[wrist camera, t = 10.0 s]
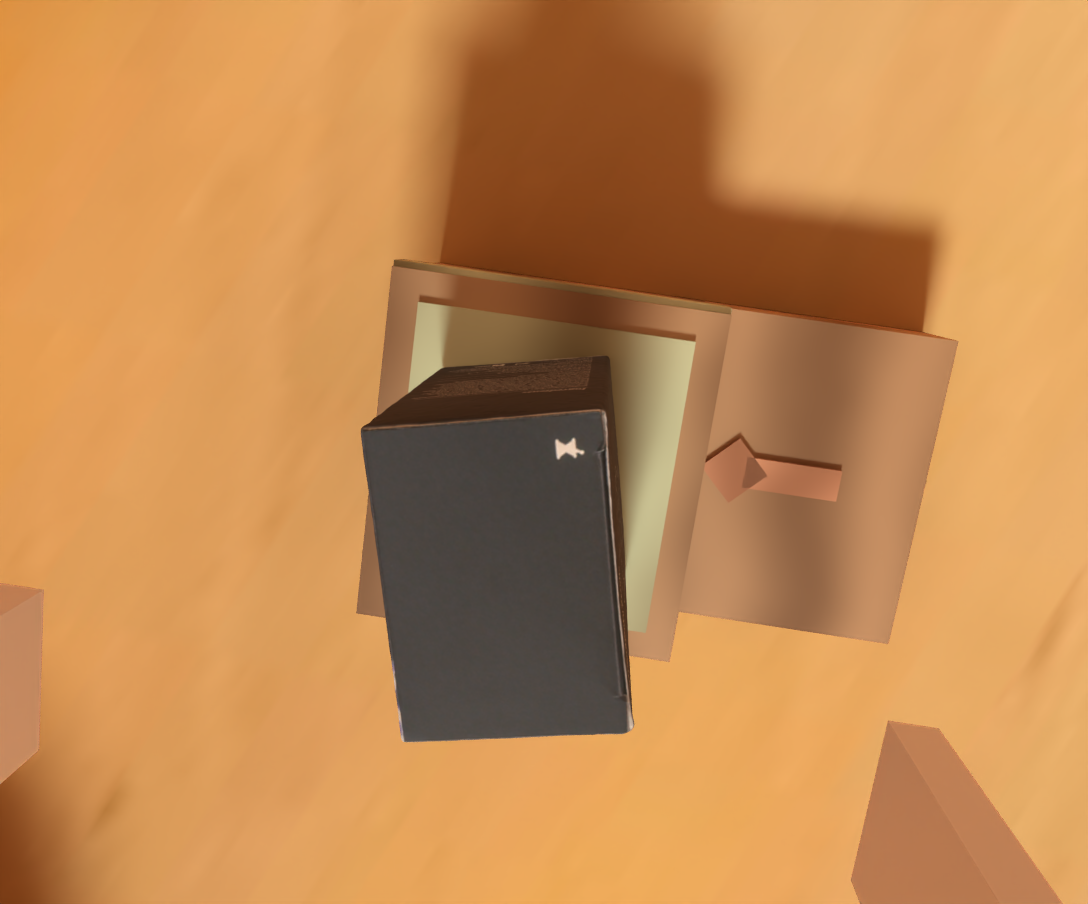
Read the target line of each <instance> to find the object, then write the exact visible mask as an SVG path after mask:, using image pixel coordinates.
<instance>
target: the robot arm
mask: <svg viewBox="0 0 1088 904" xmlns="http://www.w3.org/2000/svg"><path fill="white" fill-rule="evenodd" d="M43 594H44V590H42V589H35V588H29V587H22V586H16V585H9V584H3V583H0V784H1V783H2V782H3V781H4V780H6V779H7V778H8V777H9V776H10V775H11V774H12V773H13V772H15V771H16V770H17V769H18V768H19V767H20V766H21V765H23V764H24V763H25V762H26V761H27V760H28V759H29V758H31V757H32V756H33V755H34V754H35V753H36V752H37V751H38V750H39V735H40V700H41V665H42V629H43ZM851 882H852V884H853V887H854V889H855V892H856V894H857V897H858V899H859V902H860V904H1063V903H1062V902H1061V901H1060V899H1059V898H1058V896H1057V895H1056V894H1055V892H1054V891H1053V889H1052V888H1051V886H1050V885H1049V884H1048V882H1047V881H1046V879H1045V878H1044V877H1043V875H1042V874H1041V872H1040V871H1039V869H1038V868H1037V867H1036V865H1035V864H1034V862H1033V861H1032V860H1031V858H1030V857H1029V855H1028V854H1027V853H1026V851H1025V850H1024V848H1023V847H1022V845H1021V844H1020V843H1019V841H1018V840H1017V838H1016V837H1015V836H1014V834H1013V833H1012V831H1011V830H1010V828H1009V827H1008V826H1007V824H1006V823H1005V821H1004V820H1003V819H1002V817H1001V816H1000V814H999V813H998V811H997V810H996V809H995V807H994V806H993V804H992V803H991V802H990V800H989V799H988V797H987V796H986V795H985V793H984V792H983V790H982V789H981V787H980V786H979V785H978V783H977V782H976V780H975V779H974V778H973V776H972V775H971V773H970V772H969V770H968V769H967V768H966V766H965V765H964V763H963V762H962V761H961V759H960V758H959V756H958V755H957V754H956V752H955V751H954V749H953V748H952V746H951V745H950V744H949V742H948V741H947V739H946V738H945V737H944V735H943V734H942V732H941V731H940V729H939V728H932V727H926V726H919V725H913V724H906V723H900V722H893V721H888V723H887V728H886V732H885V736H884V740H883V745H882V749H881V753H880V758H879V762H878V766H877V770H876V775H875V779H874V783H873V788H872V792H871V796H870V800H869V805H868V809H867V813H866V818H865V822H864V826H863V830H862V835H861V839H860V843H859V847H858V852H857V856H856V860H855V865H854V869H853V873H852V877H851Z"/></svg>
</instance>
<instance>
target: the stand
mask: <svg viewBox="0 0 1088 904" xmlns="http://www.w3.org/2000/svg"><path fill="white" fill-rule="evenodd" d="M957 345H958V341H956V340H952V339H948V338H944V337H940V336H936V335H932V334H928V333H924V332H918V331H911V330H904V329H897V328H890V327H883V326H876V325H869V324H862V323H855V322H848V321H841V320H834V319H827V318H820V317H813V316H806V315H799V314H792V313H785V312H778V311H771V310H764V309H757V308H750V307H743V306H736V305H729V304H722V303H715V302H708V301H701V300H694V299H687V298H680V297H673V296H667V295H660V294H653V293H646V292H639V291H632V290H625V289H618V288H611V287H604V286H597V285H590V284H583V283H576V282H569V281H562V280H555V279H548V278H541V277H534V276H527V275H520V274H513V273H506V272H499V271H492V270H485V269H478V268H471V267H464V266H457V265H450V264H443V263H426V262H419V261H412V260H405V259H400V260H394V266H392V272H391V282H390V292H389V301H388V311H387V321H386V330H385V340H384V350H383V359H382V369H381V379H380V389H379V398H378V408H377V416H378V415H380V414H381V413H382V412H384V411H385V410H386V409H387V408H389V407H390V406H391V405H392V404H394V403H396V402H397V401H398V400H400V399H401V398H402V397H404V396H405V395H406V394H408V393H409V392H411V391H412V390H413V389H414V388H416V387H417V386H418V385H419V384H421V383H422V382H423V381H425V380H426V379H427V378H429V377H430V376H432V375H433V374H434V373H436V372H437V371H438V370H440V369H441V368H444V367H457V366H473V365H486V364H499V363H510V362H527V361H539V360H545V359H549V360H551V359H563V358H576V357H590V356H608V357H609V359H610V366H611V381H612V392H613V403H614V414H615V425H616V437H617V448H618V462H619V474H620V488H621V499H622V514H623V526H624V547H625V566H626V569H625V571H626V596H627V621H628V644H629V656H634V657H641V658H647V659H653V660H660V661H666V662H670V657H671V651H672V646H673V640H674V635H675V629H676V623H677V618H678V612H684V613H690V614H697V615H703V616H710V617H716V618H723V619H729V620H736V621H742V622H749V623H755V624H762V625H768V626H775V627H781V628H788V629H794V630H800V631H807V632H813V633H820V634H826V635H833V636H839V637H846V638H852V639H859V640H865V641H872V642H878V643H885V644H888V643H889V639H890V635H891V630H892V626H893V622H894V617H895V613H896V609H897V604H898V600H899V596H900V592H901V587H902V583H903V579H904V574H905V570H906V566H907V561H908V557H909V553H910V548H911V544H912V540H913V535H914V531H915V527H916V522H917V518H918V514H919V509H920V505H921V501H922V496H923V492H924V488H925V483H926V479H927V475H928V470H929V466H930V462H931V457H932V453H933V449H934V444H935V440H936V436H937V431H938V427H939V423H940V418H941V414H942V410H943V405H944V401H945V397H946V392H947V388H948V384H949V379H950V375H951V371H952V367H953V362H954V358H955V354H956V349H957ZM356 613H358V614H364V615H371V616H377V617H384V618H386V617H385V610H384V602H383V594H382V587H381V579H380V571H379V563H378V556H377V549H376V542H375V534H374V525H373V519H372V513H371V505H370V497H369V495H368V505H367V515H366V525H365V534H364V544H363V554H362V563H361V573H360V583H359V592H358V602H357V612H356Z"/></svg>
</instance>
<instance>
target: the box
mask: <svg viewBox="0 0 1088 904" xmlns="http://www.w3.org/2000/svg"><path fill="white" fill-rule="evenodd" d="M361 438H362V446H363V455H364V462H365V469H366V475H367V482H368V489H369V497H370V505H371V513H372V519H373V525H374V534H375V542H376V549H377V556H378V563H379V571H380V579H381V587H382V594H383V602H384V610H385V617H386V624H387V631H388V639H389V647H390V654H391V660H392V667H393V675H394V683H395V692H396V698H397V705H398V714H399V724H400V731H401V738H402V741H404V742H425V741H456V740H478V739H501V738H522V737H543V736H560V735H595V734H624V733H627V732H629V731H631V730H632V729H633V727H634V720H633V715H632V698H631V682H630V662H629V644H628V621H627V596H626V571H625V569H626V566H625V547H624V526H623V514H622V499H621V488H620V474H619V462H618V448H617V437H616V425H615V414H614V403H613V392H612V381H611V366H610V359H609V357H608V356H590V357H576V358H563V359H551V360H549V359H545V360H539V361H527V362H510V363H499V364H486V365H473V366H457V367H444V368H441V369H440V370H438V371H437V372H436V373H434V374H433V375H432V376H430V377H429V378H427V379H426V380H425V381H423V382H422V383H421V384H419V385H418V386H417V387H416V388H414V389H413V390H412V391H411V392H409V393H408V394H406V395H405V396H404V397H402V398H401V399H400V400H398V401H397V402H396V403H394V404H392V405H391V406H390V407H389V408H387V409H386V410H385V411H384V412H382V413H381V414H380V415H378V416H377V417H376V418H374V419H373V420H372V421H371V422H370V423H369V424H367V425H365V426H363V427H362V429H361Z"/></svg>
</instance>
